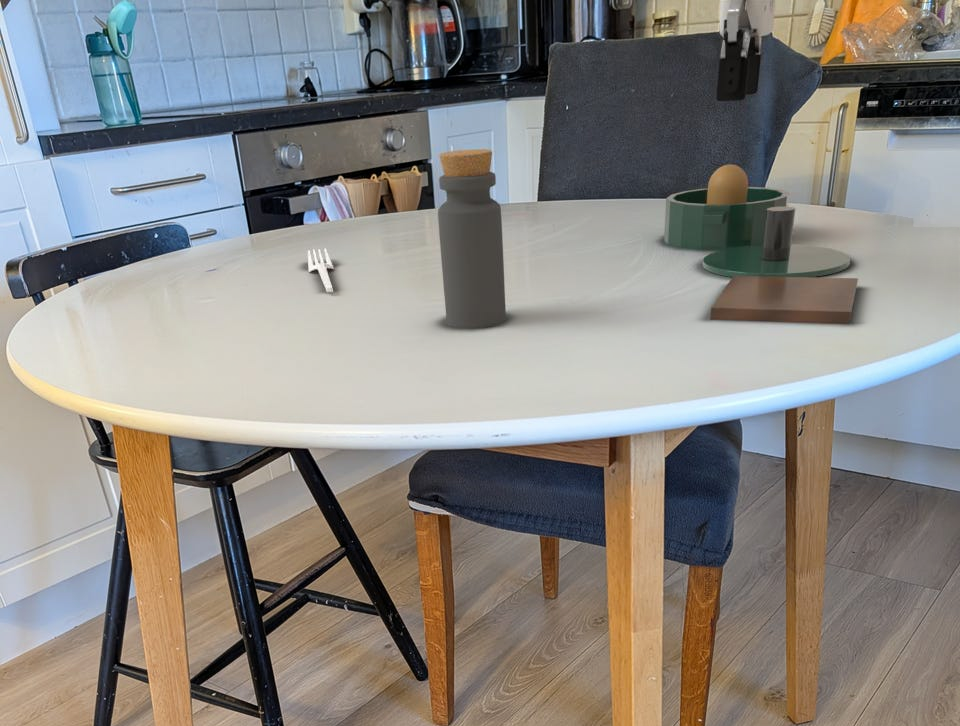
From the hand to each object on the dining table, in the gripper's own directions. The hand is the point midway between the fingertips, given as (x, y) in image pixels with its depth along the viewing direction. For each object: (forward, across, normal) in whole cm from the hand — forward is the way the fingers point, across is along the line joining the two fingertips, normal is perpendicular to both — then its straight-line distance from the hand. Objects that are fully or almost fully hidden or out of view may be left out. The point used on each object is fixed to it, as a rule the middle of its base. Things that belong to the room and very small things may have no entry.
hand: (737, 97), depth 103 cm
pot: (+16, 0, 0) cm, 16 cm away
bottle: (+16, -43, +17) cm, 49 cm away
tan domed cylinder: (+15, 0, 0) cm, 15 cm away
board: (+16, -32, -11) cm, 38 cm away
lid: (+15, -16, -8) cm, 23 cm away
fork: (+16, -25, +45) cm, 54 cm away
